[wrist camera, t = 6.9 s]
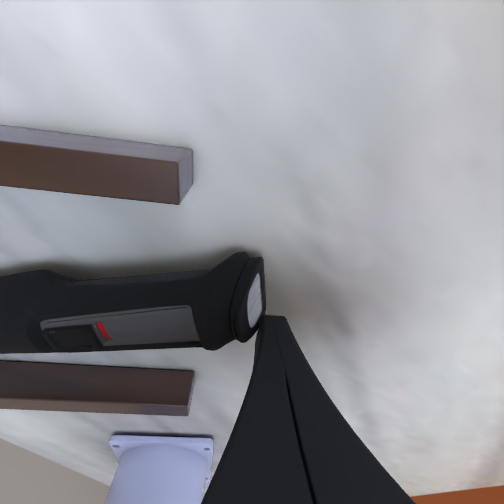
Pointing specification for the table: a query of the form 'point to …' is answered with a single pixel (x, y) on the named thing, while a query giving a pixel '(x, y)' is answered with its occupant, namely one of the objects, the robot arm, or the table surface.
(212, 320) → the electric trimmer
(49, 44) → the table surface
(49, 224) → the table surface
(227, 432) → the table surface
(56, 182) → the dock
